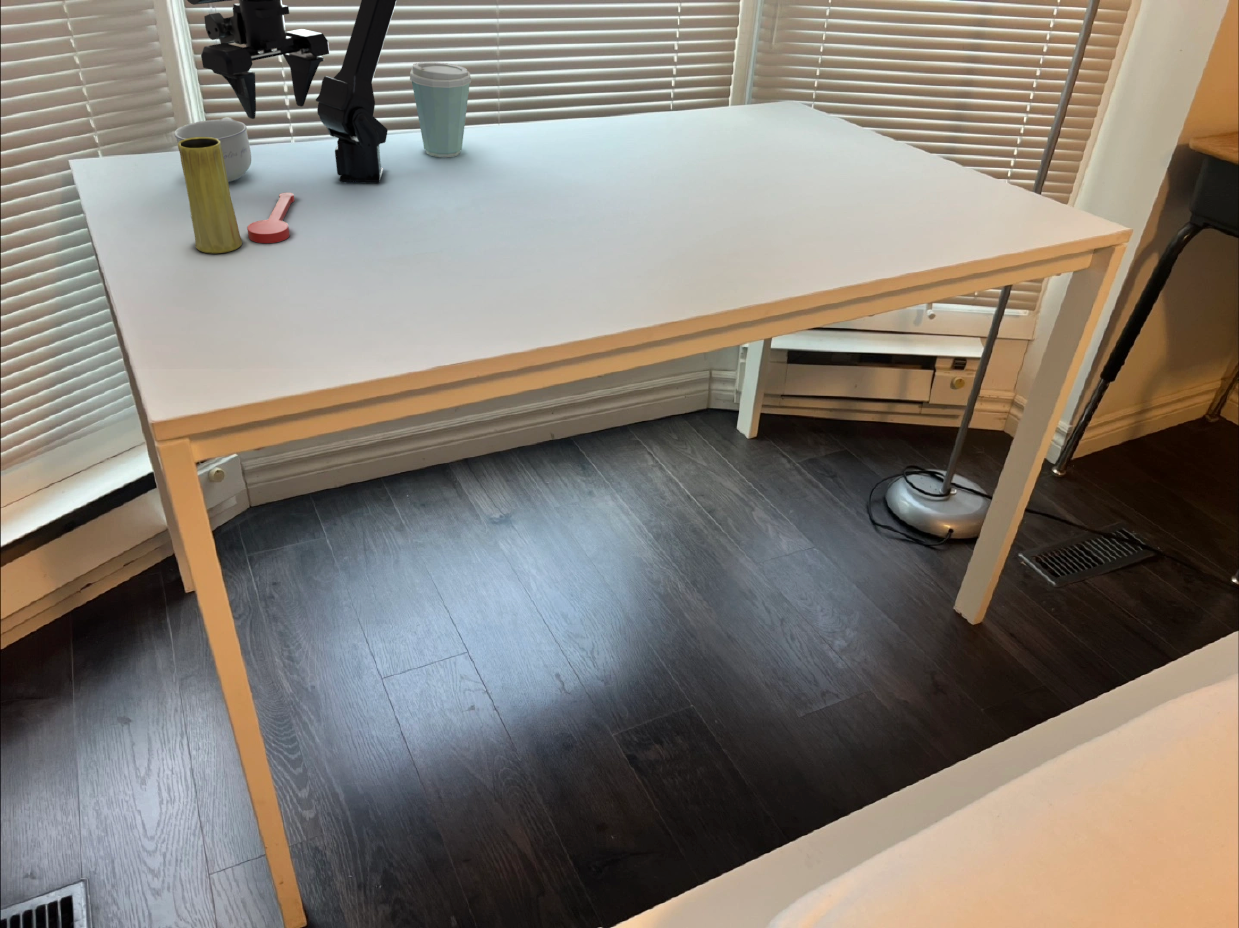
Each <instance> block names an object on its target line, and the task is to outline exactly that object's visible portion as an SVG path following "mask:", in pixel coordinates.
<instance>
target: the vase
mask: <svg viewBox="0 0 1239 928" xmlns="http://www.w3.org/2000/svg"><path fill="white" fill-rule="evenodd" d="M177 149H178V152H179V156H180V163H181V167H182V168H181V169H182V172H183V177H184V181H185V186H186V187H185V188H186V194H187V198H188V204H189V212H190V217H191V223H192V228H193V235H194V239H195V240H194V242H195V244H194V246H195V249H197V250H198V251H199V252H202V253H205V254H212V255H214V254H217V255H218V254H226V253H229V252H233V251H236V250H237V249H239V248H240V247H241V246H243V245H242V244H243V240H242V237H241V234H240V230H239V225H238V221H237V215H236V212H235V209H234V204H233V200H232V195H231V189H230V184H229V182H228V179H227V173H226V168H225V162H224V157H223V152H222V147H221V143H220V141H219V140H218V139H216V138H211V137H193V138H187V139H184V140H181V141H180V142H179V143H177Z"/></svg>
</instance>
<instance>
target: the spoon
mask: <svg viewBox="0 0 1239 928" xmlns="http://www.w3.org/2000/svg"><path fill="white" fill-rule="evenodd" d="M295 201H296V199H295V194H294V193H292V192H287V191H286V192H281V193H279V194H278V200H277V202H276V204H275V205H274V207H273V208H272V211H271V213H270V214H269V217H268V219H262V220H256V221H253V222H251V223H249V224H248V225H247V227H246V229H247V235H248V239H249V240H250V241H252V242H254V243H258V244H275V243H280V242H282V241H286V240H287V239H289V238H290V235H291V234H290V226H289V223H287V222H286V221H283V220H284V219H285V217H286V215H287V213H288V210H289V209H290V206H291V204H293V203H294V202H295Z"/></svg>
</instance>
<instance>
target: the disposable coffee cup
mask: <svg viewBox="0 0 1239 928" xmlns="http://www.w3.org/2000/svg"><path fill="white" fill-rule="evenodd" d="M409 81H410V82H411V85H412V90H413V97H414V101H415V106H416V112H417V117H418V122H419V127H420V133H421V138H422V145H423V149H424V150H425V153H426V154H427V155H428V156H431V157H436V158H454V157H457V156H459V155H461V151H462V149H463V142H464V133H465V127H466V118H467V108H468V100H469V94H470V84H471V83H472V77H471V72H470V71H468V69H467V68H466V67H464V66H461V65H459V64H458V65H457V64H453V63H449V62H438V61H437V62H436V61H420V62H415V63H412V68H411V70H410V75H409Z"/></svg>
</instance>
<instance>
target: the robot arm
mask: <svg viewBox="0 0 1239 928" xmlns="http://www.w3.org/2000/svg"><path fill="white" fill-rule="evenodd" d="M186 1H187V2H188V3H189V4H191V5H192V6H193V5H195V6H197V5H203V4H205V5H206V4H214V3H222V2H231V1H233V0H186ZM396 4H397V0H361V1H360V4H359V8H358V11H357V14H356V17H355V21H354V23H353V28H352V32H351V34H350V38H349V41H348V45H347V48H346V52H345V54H344V58H343V61H342V64H341V68H340V70H339V71H338V72H337V73H336V75H335V76H334V77H330V76H327V75H325V76H324V77H323V78H322V80H321V85H320V92H319V94H318V96H317V97H316V99H315V102H317V109H316V110H317V111H316V113H317V116H318V117H319V120H320V122H321V123H322V124H323V126H324V127H326V130H327V132H328V134H329V136H330V137H333V138H337V142H336V143H337V146H336V147H335V149H334V157H335V165H336V174H337V175H338V176H339V178H338V181H339V182H340V183H363V184H365V183H366V184H367V183H368V184H377V183H380V182H381V180H382V176H383V173H384V168H383V167H382V162H381V152H380V145H382V144H385V143H386V142H387V137H388V128H387V127H386V126H385V125H383V123H382V122H381V121H379V120H378V119H377V118H376V117H375V115H374V113H375V107H376V101H375V94H374V88H373V80H374V76H375V73H376V70H377V67H378V63H379V60H380V58H381V53H382V51H383V47H384V44H385V40H386V37H387V34H388V30H389V27H390V24H391V21H392V17H393V14H394V11H395V7H396ZM286 15H290V7H289V5H285V4H283V2H282V0H238V3H233V4H232V16H230V17H224V16H223V15H222V13H220V12H215V13H209V14H206V15H204V16H203V17H204V27H205V30H206V34H207V37H208V38H209V39H210V40H211V41H214V40H219V42H220V43H216V44H211V45H205V46H203V48H202V50H201V52H200V57H201V63H202V68H204V69H207V70H210V71H212V72H213V74H215V75H219V76H222V77H223V78H224V79H225V80H226V81H227V82H228V84H229V85H230V87H231V89H232V90H233V92H234V94H235V95H236V97H237V99H238V101H239V103H240V105H241V106H242V109H243V110H244V112H245V114H246V116H247V117H248V118H249V119H251V120H255V119H256V115H257V114H256V113H257V95H256V92H257V91H256V90H257V89H256V72H255V71H250V70H251V68H252V66H253V62H255V61H260V60H264V59H269V58H274V57H278V56H283V58H284V59H285V61H286V63H287V64H288V66H289V69H290V77H291V83H292V89H293V95H294V99H295V103H296V106H297V107H304V106H305V102H306V100H307V97H308V94H309V92H310V88H311V85H312V83H313V80H314V77H315V75H316V73H317V70H318V69H319V66H320V64H321V63H322V62H324V61H325V58H324V57H323V56H326V55H330V46H329V45H330V44H329V40H328V39H327V37H326V36H325V34H324V33H323V32H317V31H314V30H310V29H304V28H300V29H299V28H298V29H294V30H293V29H292V30H288V31H287V30H286V23H285V17H284V16H286ZM234 44H236V45H234ZM239 45H241V46H239ZM242 45H244V47H243V46H242Z"/></svg>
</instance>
